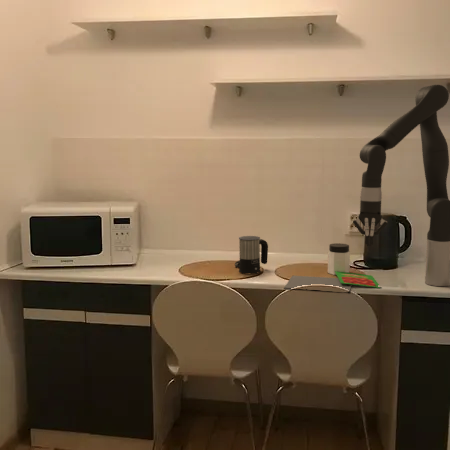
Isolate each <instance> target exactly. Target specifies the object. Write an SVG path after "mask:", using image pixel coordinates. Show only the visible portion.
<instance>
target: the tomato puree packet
mask: <svg viewBox="0 0 450 450" xmlns="http://www.w3.org/2000/svg"><path fill="white" fill-rule="evenodd" d="M335 273H336V275H335V276H337V277H336V278H339V280H340V282H341V283H343V284H351V286H352V285H354V286H360V287H368V288H377V289H378V288H379V289H381V288H380V287H378V285H380V283H378V281H377V280H376V278H374V275H371V274H370V275H368V274H363V273H355V272H350V273H347V272H338V271H335Z"/></svg>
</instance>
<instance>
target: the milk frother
mask: <svg viewBox="0 0 450 450" xmlns="http://www.w3.org/2000/svg"><path fill="white" fill-rule="evenodd" d="M238 240H239V245H238V247H239V260H237V261H235V263H234V267H235V268H237V267H239V269H238V272H239V273H240V272H242V273H241V274H243V273H256V274H258V273H257V272H259V273H260V272H261V268H260V267H261V264H262V265H266V264H267V263H268V253H269V244H268V242H267V241H266V240H265V239H261V237H260V236H258V235H257V236H256V235H243V236H238ZM260 245H261V248H260ZM260 250H261V251H260Z"/></svg>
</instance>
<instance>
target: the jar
mask: <svg viewBox="0 0 450 450" xmlns="http://www.w3.org/2000/svg"><path fill="white" fill-rule="evenodd" d="M328 246H329V250H328V252H327V253H328V254H327V273H328V274H330V275H331V276H332V275H333V276H337V275H336V273H335V271H338V272H347V273H351V272H350V269H351V268H350V267H351V264H350V263H351V251H350V244H347V243H342V242H341V243H330V244H328Z"/></svg>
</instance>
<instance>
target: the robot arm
mask: <svg viewBox="0 0 450 450" xmlns="http://www.w3.org/2000/svg"><path fill="white" fill-rule="evenodd" d="M449 97H450V93H449V91H448V88H447V87H445V86H444V85H442V84H431V85H428V86H423V87H421V88H420V89H419V90H417V92H416V95H415V106H414V107H412V108H411V109H410V110H409V111H407V112H406V113H404V114H403V115H401V116H400V117H399V118H397V119H396V120H394V121H393V122H392V123H391V124H390V125H389V126H387V127H386V128H385V129H384V130H383V131H382V132H381V133H380V134H378V136H375V137H374V138H373V139H371V140H370V141H368V142H367V143H365V144H364V146H362V148H361V149H360V152H359V159H360V161H361V162H362V163H364V164H367V167H366V170H364V172H362V176H361V189H360V199H359V200H360V201H359V203H360V204H359V214H358V217H357V218H355V219H353V220H352V223H353V225H354V226H355V228H356V230H358V231H359V232H360V234H361V235H364V236H365V238H364V239H365V241H364V243H365V245H366V246H367V247H371V246H372V245H373V244H374V236H376V235H377V236H378V235H379V234H380V232H381V231H382V230H384V228H385V227H386V226H387V225H388V221H387V220H385V219H383V215H382V199H383V197H382V196H383V195H382V193H383V192H382V175H383V173H384V169H385V166H386V161H387V153H386V151H388V150H391V149H392V150H393V148H395V147H396V146H397V145H398V144H400V143H401V142H402V140H404V139H405V138H406V137H407V136H408V135H409V134H410V133H411V132H412V131H413V130H414V129H416V128H417V127H418V126H419V128H420V129H419V130H420V139H421V153H422V163H423V170H424V171H423V172H424V177H425V182H426V212H427V216H428V217H429V218H430V219H429V229H428V231H427V234H426V249H425V250H426V253H425V254H426V256H425V257H426V258H425V275H424V284H427V285H429V286H434V287H435V286H436V287H450V199H449V196H448V195H449V194H448V189H447V180H448V173H449V168H450V167H449V166H450V154H449V145H448V142H447V140H446V137H445V135H444V134H443V132H442V129H441V128H440V126H439V122H438V121H439V120H438V114H437V113H438V112H439V110H441V109H443V108H444V107H445V106H446V105H447V103H448V101H449V99H450V98H449ZM379 223H380V225H379V227H378V228H377V229H376V230H375V227H377V226H378V224H379ZM360 224H362V225H363V226H364V228H363V227H362V226H361V225H360ZM369 227H370V228H369ZM364 229H365V230H364Z"/></svg>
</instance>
